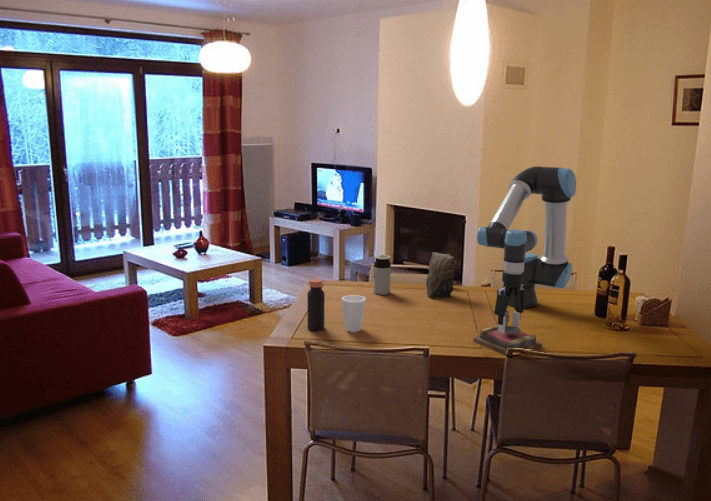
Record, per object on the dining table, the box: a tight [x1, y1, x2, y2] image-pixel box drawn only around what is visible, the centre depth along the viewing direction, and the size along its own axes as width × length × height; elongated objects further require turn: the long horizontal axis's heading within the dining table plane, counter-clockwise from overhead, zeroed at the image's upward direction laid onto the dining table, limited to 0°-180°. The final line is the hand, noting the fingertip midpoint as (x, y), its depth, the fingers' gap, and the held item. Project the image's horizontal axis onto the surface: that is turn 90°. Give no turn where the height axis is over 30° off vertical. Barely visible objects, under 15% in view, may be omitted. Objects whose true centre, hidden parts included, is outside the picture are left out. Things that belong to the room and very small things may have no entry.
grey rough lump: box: [425, 251, 456, 300], centre depth 285 cm, size 13×13×20 cm
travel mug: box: [372, 254, 392, 296], centre depth 287 cm, size 8×8×18 cm
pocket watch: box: [505, 310, 522, 334], centre depth 225 cm, size 8×8×10 cm
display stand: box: [472, 323, 543, 356], centre depth 226 cm, size 18×18×5 cm
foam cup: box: [341, 294, 367, 333], centre depth 238 cm, size 10×9×13 cm
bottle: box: [307, 278, 326, 332], centre depth 237 cm, size 7×7×20 cm
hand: (508, 330), depth 226 cm, fingers closed on pocket watch, 7 cm apart
